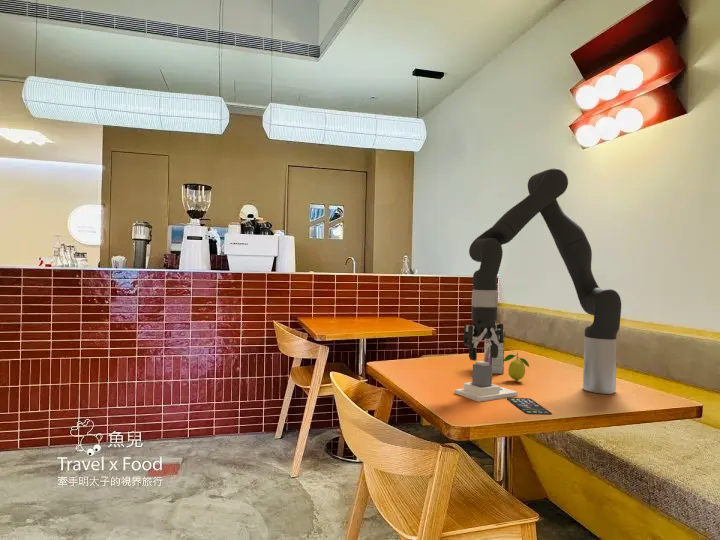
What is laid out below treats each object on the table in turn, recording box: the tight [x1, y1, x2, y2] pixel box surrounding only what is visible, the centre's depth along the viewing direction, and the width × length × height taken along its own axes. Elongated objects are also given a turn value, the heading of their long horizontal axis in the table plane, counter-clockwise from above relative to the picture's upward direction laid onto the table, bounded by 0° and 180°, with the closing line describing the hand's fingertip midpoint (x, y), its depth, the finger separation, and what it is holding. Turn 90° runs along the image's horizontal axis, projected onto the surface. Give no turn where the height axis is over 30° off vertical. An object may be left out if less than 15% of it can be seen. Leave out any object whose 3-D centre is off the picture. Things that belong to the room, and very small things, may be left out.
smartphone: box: [506, 397, 553, 416], centre depth 132 cm, size 7×1×15 cm
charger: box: [471, 360, 493, 388], centre depth 142 cm, size 4×4×9 cm
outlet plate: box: [454, 381, 519, 403], centre depth 143 cm, size 16×10×3 cm, turn 120°
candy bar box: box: [483, 329, 506, 375], centre depth 179 cm, size 11×5×16 cm, turn 179°
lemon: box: [504, 352, 530, 382], centre depth 162 cm, size 7×6×10 cm
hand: (483, 358), depth 142 cm, fingers open, 8 cm apart
